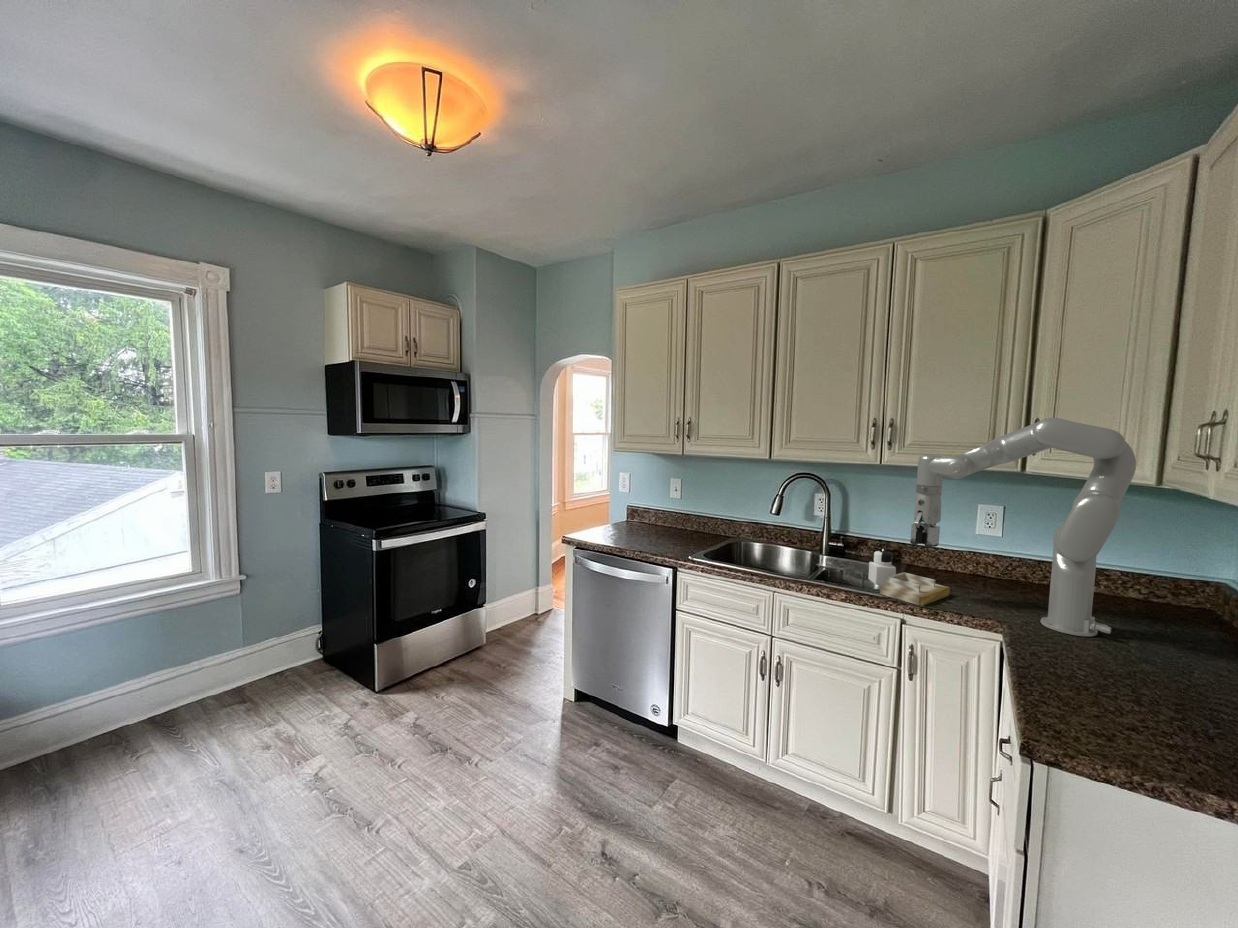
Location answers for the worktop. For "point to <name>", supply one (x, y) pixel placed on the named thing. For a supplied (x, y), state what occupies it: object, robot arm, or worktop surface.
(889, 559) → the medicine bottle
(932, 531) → the grey block
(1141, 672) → the worktop surface
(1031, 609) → the worktop surface
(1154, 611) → the worktop surface
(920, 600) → the loading dock
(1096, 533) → the robot arm
